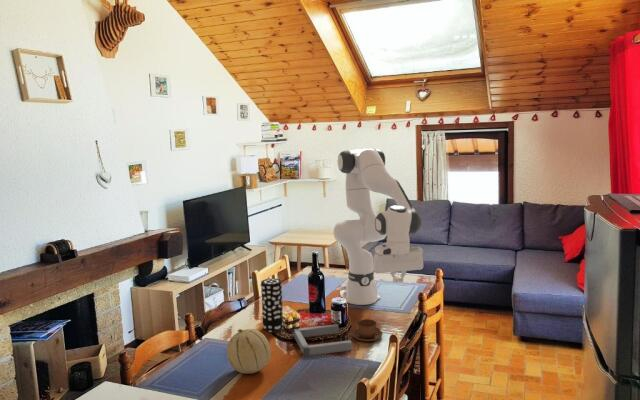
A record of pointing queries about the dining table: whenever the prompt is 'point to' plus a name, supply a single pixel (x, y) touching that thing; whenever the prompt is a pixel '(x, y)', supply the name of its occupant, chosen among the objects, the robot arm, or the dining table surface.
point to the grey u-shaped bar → (320, 348)
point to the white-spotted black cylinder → (272, 305)
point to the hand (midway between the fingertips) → (398, 282)
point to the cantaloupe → (248, 351)
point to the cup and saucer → (367, 331)
